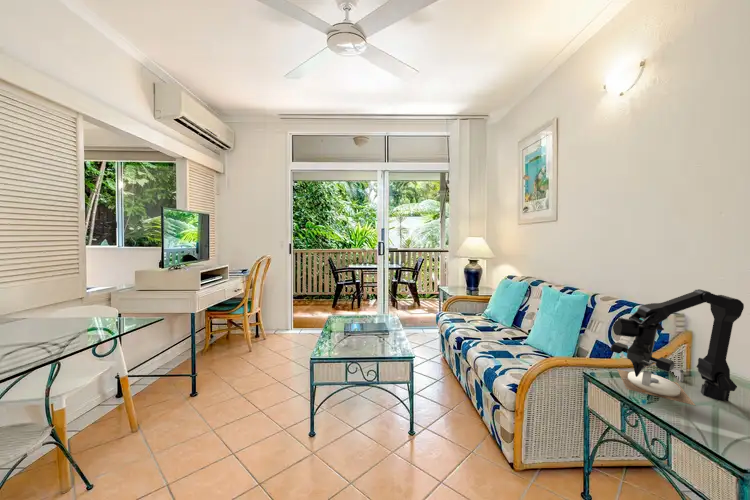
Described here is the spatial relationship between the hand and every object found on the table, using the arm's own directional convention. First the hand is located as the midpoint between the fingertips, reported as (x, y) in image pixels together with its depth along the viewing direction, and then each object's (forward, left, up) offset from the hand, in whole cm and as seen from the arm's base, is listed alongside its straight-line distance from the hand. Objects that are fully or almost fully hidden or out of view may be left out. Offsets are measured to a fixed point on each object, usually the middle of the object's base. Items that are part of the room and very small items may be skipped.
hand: (636, 376), depth 131 cm
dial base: (-6, -4, -5) cm, 9 cm away
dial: (-6, -4, -4) cm, 8 cm away
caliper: (-18, -26, -6) cm, 32 cm away
